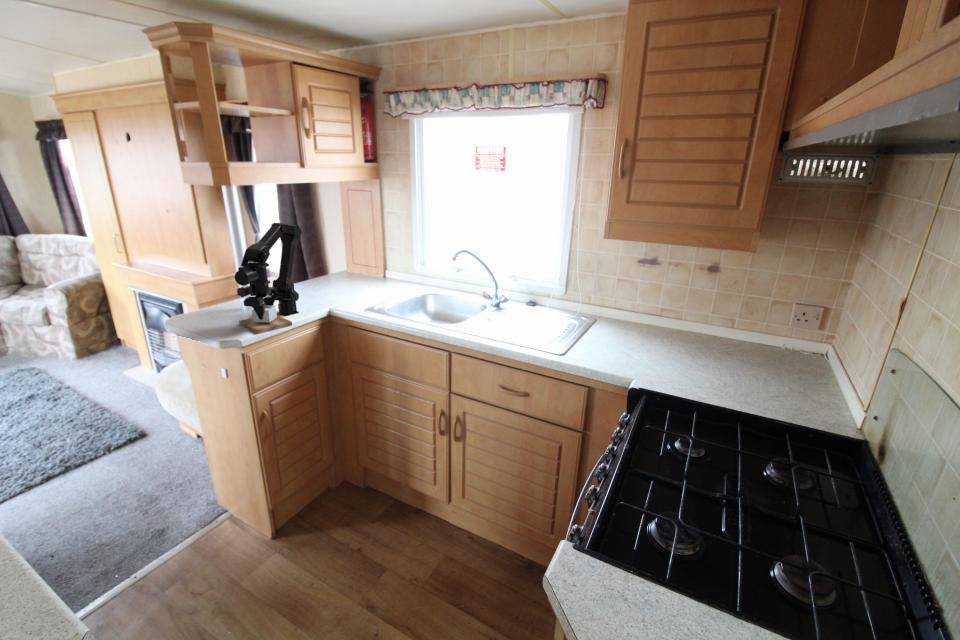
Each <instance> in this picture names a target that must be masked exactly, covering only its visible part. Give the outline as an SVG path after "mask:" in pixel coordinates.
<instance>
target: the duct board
mask: <svg viewBox="0 0 960 640" xmlns="http://www.w3.org/2000/svg"><path fill="white" fill-rule="evenodd" d="M265 310H268V308H265ZM238 321H239V322H238V323H239V325H240V326H242V327H244V328H246V329H248V330H250V331H252V333H253V332H254V333H255V334H257V335H261V334H263V333H267V332H272V331H275V330H279V329H283V328H286V327H291V326H293V322H292V321H291V320H289V319H286V318H284V317H282V316H280V315H278V314H277V317H276V318H275V319H274V320H272V321H271V322H253V317H251V318H245V319H241V320H238Z"/></svg>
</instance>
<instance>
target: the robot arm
mask: <svg viewBox="0 0 960 640" xmlns="http://www.w3.org/2000/svg"><path fill="white" fill-rule="evenodd" d="M302 233H303V232H302V228H301V227H300V226H299V225H297V224H286V223H283V222H274V223H271V225H270V227H269V229H268V230H267V231H266V232H265V234H264V235H263V236H262V237H261V238H260V240H259V241H257V242H256V243H254V244H251V245H250V246H248V247H247V248H246V249H245V251H244V255H243V258H242V261H241V263H240V266H239V267H238V268H237V269H238V270H237V271H236V272H235V274H234V280H235V282H236V283H237V284H238V285H239V286H241V287H238V288H237V289H236V295H237V296H239V297H240V298H243V299H244V298H245V297H246V298H245V299H244V300H243V306H244V307H251V308H252V310H253V309H254V310H255V312H256V314H257V315H258V317H259V319H260V320H262V319H263V315H264V310H265V305H271V306H274V304H275V302H276V301H278V304H277V308H278V314H279V315H282V316H284V317H288V316H292V315H296V314H299V313H300V311H298V310H297V301H298V300H299V299H300V294H299V293H298V292H297V291H296V290H295V284H294V282H293V279H292V274H293V266H294V258H295V251H296V246H297V245H298V243H300V241H301V237H302V235H303V234H302ZM279 239H280V241H281V243H282V248H281V256H280V264H279V271H278V277H276V279H273V280H272V286H270V285H269V284H271V280H269V278H268V271H267V267H269V266H270V264H269V263H268V262H267V260H268V259H269V257H270V256H271V253H270V251H271V249H272V248H273V246H274V245H275V244H276V243H277V241H278V240H279ZM244 286H245V287H244ZM247 296H248V297H247Z"/></svg>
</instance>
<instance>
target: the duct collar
mask: <svg viewBox="0 0 960 640" xmlns="http://www.w3.org/2000/svg"><path fill="white" fill-rule="evenodd" d="M276 307H277V306H276V305H273V306H271V305H265V308H268V310H264V315H263V319H262V320H260V319H259V317H258V315H257V314H256V312H255V310H254V309H253V308H252V309H251V315H252V318H253V322H271V321H272V320H274V319H275V318H276V317H277V315H278V314H277V308H276Z"/></svg>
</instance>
